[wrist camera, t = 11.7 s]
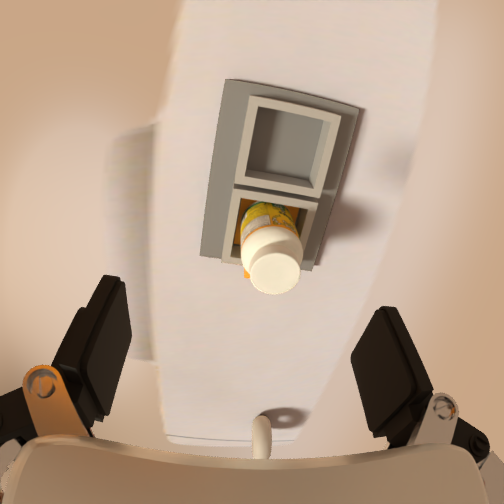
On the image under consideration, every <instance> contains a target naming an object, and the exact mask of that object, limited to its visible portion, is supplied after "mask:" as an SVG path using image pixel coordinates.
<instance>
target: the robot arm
mask: <svg viewBox="0 0 504 504" xmlns="http://www.w3.org/2000/svg"><path fill="white" fill-rule="evenodd" d="M131 338H132V331H131V325H130V318H129V311H128V304H127V296H126V288H125V283H124V282H122V281H121V280H120V277H117V276H110V275H103V277H102V278H101V280H100V282H99V284H98V286H97V288H96V290H95V291H94V293H93V295H92V297H91V299H90V301H89V303H88V305H87V307H86V308H84V307H81V308H80V309H79V310H78V311H77V313H76V315H75V317H74V319H73V321H72V323H71V325H70V327H69V329H68V331H67V333H66V335H65V337H64V339H63V341H62V343H61V345H60V347H59V349H58V351H57V353H56V356H55V358H54V360H53V362H52V364H51V366H49V365H38V366H35V367H33V368H31V369H30V370H29V371H28V372H27V373H26V375H25V377H24V379H23V384H22V386H23V387H20V388H18V389H16V390H14V391H11V392H9V393H7V394H4V395H3V396H0V482H1V477H2V475H3V474H4V473H5V472H6V471H7V470H8V467H7V466H8V465H9V464H10V463H11V462H12V461H14V463H13V466H12V468H11V471H10V474H9V477H8V480H7V483H6V487H5V492H3V490H2V488H1V483H0V504H504V463H503V462H502V461H501V460H500V459H499V458H498V456H497V455H496V454H495V453H494V452H493V451H491V452H489V449H490V445H489V441H488V438H487V437H486V435H485V434H484V433H482V432H481V431H479V430H478V429H476V428H475V427H473V426H471V425H470V424H469V423H467V422H465V421H464V420H462V419H461V418H459V417H458V414H459V411H458V406H457V404H456V402H455V401H454V399H453V398H452V397H450V396H449V395H447V394H445V393H436V394H435V395H433V393H432V391H433V390H434V389H433V387H432V384H431V382H430V379H429V377H428V374H427V372H426V370H425V367H424V365H423V363H422V361H421V358H420V356H419V354H418V352H417V350H416V347H415V345H414V344H413V341H412V339H411V337H410V334H409V332H408V330H407V328H406V326H405V324H404V322H403V320H402V318H401V316H400V314H399V312H398V310H397V308H396V307H389V306H382V307H380V308H379V310H376V311H375V313H374V315H373V317H372V318H371V320H370V322H369V324H368V326H367V327H366V329H365V331H364V333H363V335H362V336H361V338H360V340H359V342H358V343H357V345H356V347H355V349H354V350H353V352H352V354H351V364H352V367H353V371H354V374H355V378H356V381H357V385H358V389H359V393H360V396H361V400H362V404H363V408H364V412H365V416H366V420H367V424H368V428H369V430H370V431H371V432H373V437H374V438H377V437H384V436H386V437H387V442H386V444H385V446H384V448H383V450H381V451H374V452H367V453H360V454H352V455H343V456H333V457H320V458H304V459H240V458H222V457H209V456H200V455H199V456H198V455H191V454H182V453H175V452H169V451H162V450H156V449H150V448H143V447H138V446H133V445H128V444H123V443H118V442H114V441H108V440H103V439H98V438H96V437H95V436H94V434H93V432H92V430H91V427H92V426H93V424H94V420H96V421H100V422H103V419H104V415H106V416H108V415H109V414H110V410H111V406H112V403H113V399H114V396H115V392H116V389H117V385H118V382H119V378H120V375H121V371H122V368H123V365H124V362H125V358H126V355H127V352H128V349H129V346H130V343H131Z"/></svg>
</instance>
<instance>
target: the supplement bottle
mask: <svg viewBox="0 0 504 504" xmlns="http://www.w3.org/2000/svg"><path fill="white" fill-rule="evenodd" d="M302 259H303V248H302V244H301V241H300V238H299V235H298V233H297V230H296V227H295V224H294V221H293V219H292V216H291V214H290V212H289V210H288V209H287V208H286V207H285V206H284V205H281V204H276V203H270V202H264V201H256V202H254V203H253V204H251V205H250V206H249V207H248V208H247V209H246V210H245V211H244V213H243V215H242V218H241V260H242V264H243V266H244V268H245V270H246V271H247V272H248V273H249V274H250V279H251V282H252V284H253V285H254V286H255V287H256V288H257V289H258V290H259V291H261V292H263V293H266V294H281V293H285V292H287V291H289V290H290V289H292V288H293V287H294V286H295V285H296V284H297V283H298V281H299V279H300V275H301V269H300V265H301V262H302Z"/></svg>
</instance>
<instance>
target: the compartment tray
mask: <svg viewBox="0 0 504 504" xmlns="http://www.w3.org/2000/svg"><path fill="white" fill-rule="evenodd" d="M358 113H359V109H358V108H355V107H351V106H348V105H345V104H341V103H338V102H334V101H330V100H327V99H323V98H319V97H315V96H311V95H307V94H303V93H299V92H294V91H290V90H285V89H280V88H275V87H270V86H265V85H260V84H254V83H248V82H242V81H235V80H228V79H225V84H224V89H223V95H222V101H221V106H220V112H219V118H218V124H217V130H216V137H215V143H214V150H213V156H212V163H211V170H210V177H209V184H208V191H207V199H206V207H205V214H204V222H203V231H202V239H201V248H200V256H205V257H212V258H219V259H222V262H221V263H228V264H236V265H243V264H242V260H241V218H242V215H243V213H244V211H245V210H246V209H247V208H248V207H249V206H250V205H251V204H253V203H254V202H256V201H264V202H270V203H276V204H281V205H284V206H285V207H286V208H287V209H288V210H289V212H290V214H291V216H292V219H293V221H294V224H295V227H296V230H297V233H298V235H299V238H300V241H301V244H302V248H303V259H302V262H301V265H300V269H301V270H306V271H312V269H313V266H314V263H315V260H316V257H317V254H318V251H319V248H320V245H321V242H322V238H323V235H324V232H325V229H326V226H327V223H328V220H329V216H330V213H331V210H332V207H333V203H334V200H335V197H336V193H337V190H338V186H339V183H340V180H341V176H342V173H343V169H344V166H345V162H346V158H347V155H348V151H349V147H350V144H351V140H352V136H353V132H354V129H355V125H356V121H357V117H358ZM244 278H250V274H249V273H248V272H247V271H246V270H245V268H244Z"/></svg>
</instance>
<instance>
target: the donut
mask: <svg viewBox="0 0 504 504" xmlns="http://www.w3.org/2000/svg"><path fill="white" fill-rule="evenodd" d="M271 445H272V432H271V423H270V420H269V419H268V418H267V417H266V416H262V415H261V416H258V417H256V418H255V419H254V420H253V425H252V455H253V458H254V459H269V457H270V453H271Z"/></svg>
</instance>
